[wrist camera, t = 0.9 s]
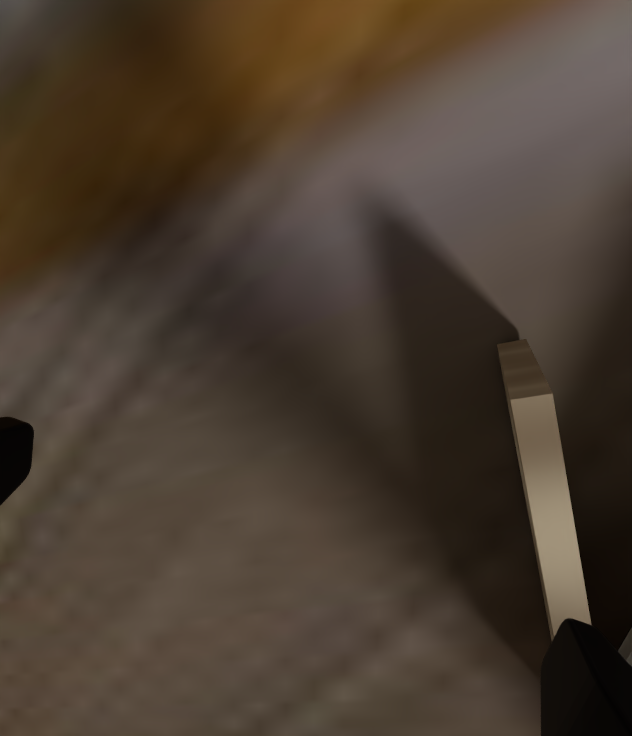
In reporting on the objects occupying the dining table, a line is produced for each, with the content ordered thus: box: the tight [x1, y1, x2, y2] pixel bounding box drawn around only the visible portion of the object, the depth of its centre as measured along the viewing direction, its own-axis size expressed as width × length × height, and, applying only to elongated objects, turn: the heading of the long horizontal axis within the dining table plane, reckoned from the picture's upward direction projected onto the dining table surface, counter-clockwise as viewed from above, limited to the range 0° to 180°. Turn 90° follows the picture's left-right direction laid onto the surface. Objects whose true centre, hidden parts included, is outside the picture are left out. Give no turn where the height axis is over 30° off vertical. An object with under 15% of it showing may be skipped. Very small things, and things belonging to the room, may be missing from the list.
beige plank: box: [497, 339, 591, 641], centre depth 19 cm, size 16×1×6 cm, turn 14°
